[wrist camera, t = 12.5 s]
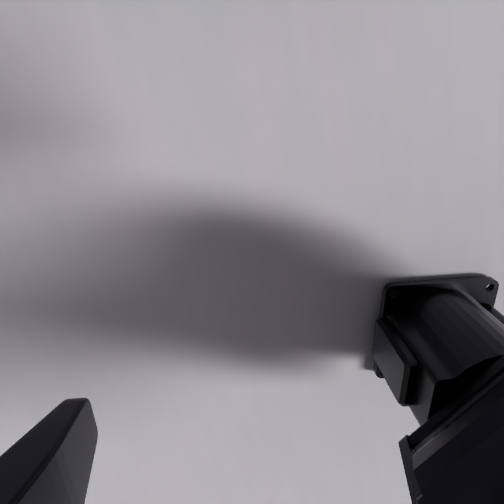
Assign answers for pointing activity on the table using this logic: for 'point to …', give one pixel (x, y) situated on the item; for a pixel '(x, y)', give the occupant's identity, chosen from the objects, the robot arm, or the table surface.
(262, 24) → the table surface
